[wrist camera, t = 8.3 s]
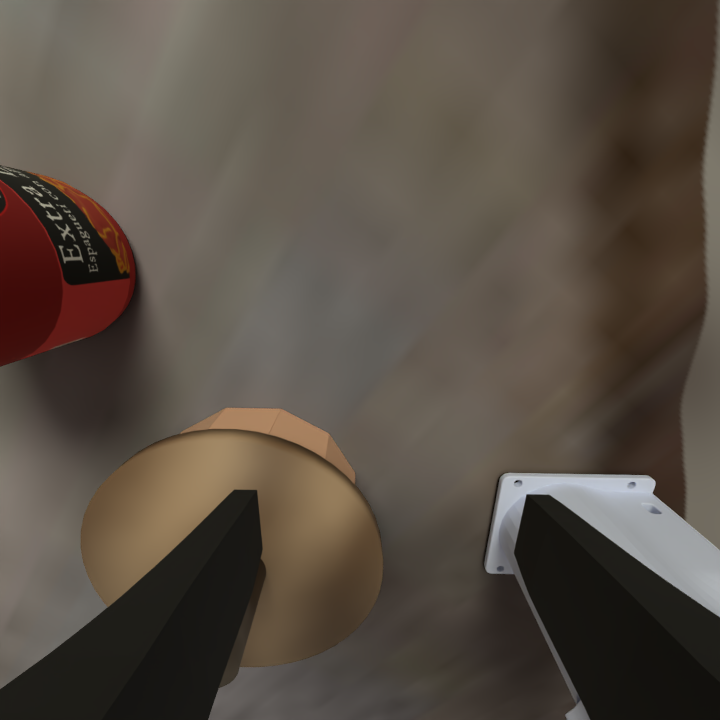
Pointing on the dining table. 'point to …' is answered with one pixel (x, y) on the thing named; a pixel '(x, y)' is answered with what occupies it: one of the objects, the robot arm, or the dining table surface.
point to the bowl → (279, 431)
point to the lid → (278, 529)
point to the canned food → (57, 265)
